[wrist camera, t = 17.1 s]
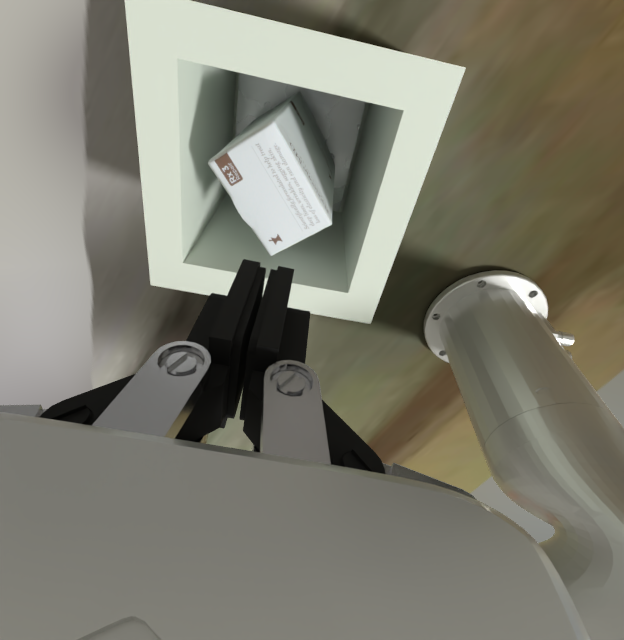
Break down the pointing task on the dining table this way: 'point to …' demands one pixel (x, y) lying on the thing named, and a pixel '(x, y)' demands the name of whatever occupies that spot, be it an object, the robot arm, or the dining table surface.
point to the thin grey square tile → (327, 109)
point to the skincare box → (280, 175)
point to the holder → (220, 128)
